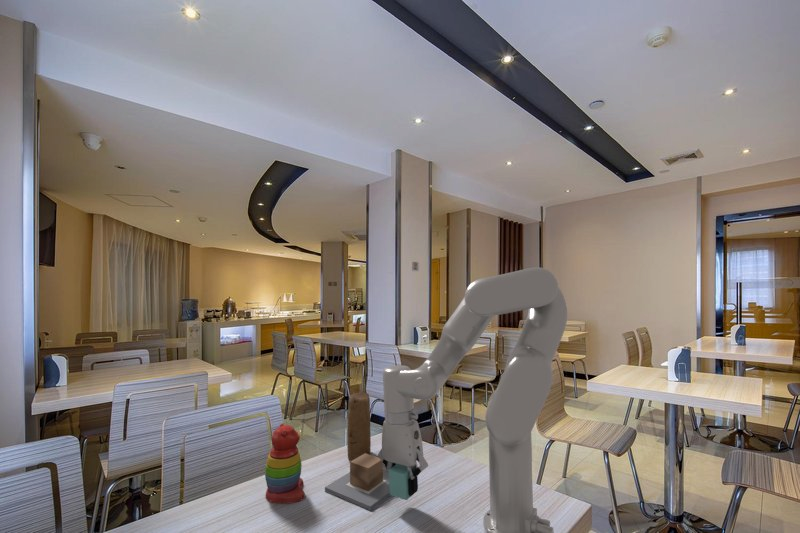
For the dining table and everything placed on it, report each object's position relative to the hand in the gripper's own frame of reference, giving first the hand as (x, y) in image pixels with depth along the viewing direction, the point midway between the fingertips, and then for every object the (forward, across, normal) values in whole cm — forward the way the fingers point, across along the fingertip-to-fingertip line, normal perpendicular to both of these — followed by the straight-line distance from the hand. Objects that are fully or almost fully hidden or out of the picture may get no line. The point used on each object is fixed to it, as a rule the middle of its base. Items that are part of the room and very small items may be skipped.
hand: (403, 489), depth 93 cm
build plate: (+4, +14, -2) cm, 15 cm away
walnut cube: (+3, +14, -3) cm, 15 cm away
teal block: (+1, 0, 0) cm, 1 cm away
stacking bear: (+3, +30, +12) cm, 33 cm away
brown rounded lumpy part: (+4, +28, -16) cm, 33 cm away
